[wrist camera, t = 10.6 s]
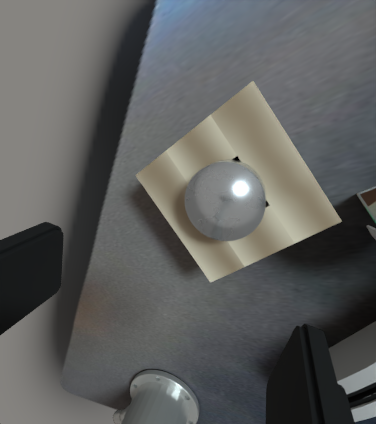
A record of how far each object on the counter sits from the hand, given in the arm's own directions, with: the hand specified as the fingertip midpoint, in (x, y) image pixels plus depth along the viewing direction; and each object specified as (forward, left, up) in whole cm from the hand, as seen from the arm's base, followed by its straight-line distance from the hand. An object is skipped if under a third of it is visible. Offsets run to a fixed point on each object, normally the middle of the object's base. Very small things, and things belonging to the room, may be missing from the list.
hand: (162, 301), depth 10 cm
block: (0, 0, -22) cm, 22 cm away
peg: (0, 0, -22) cm, 22 cm away
